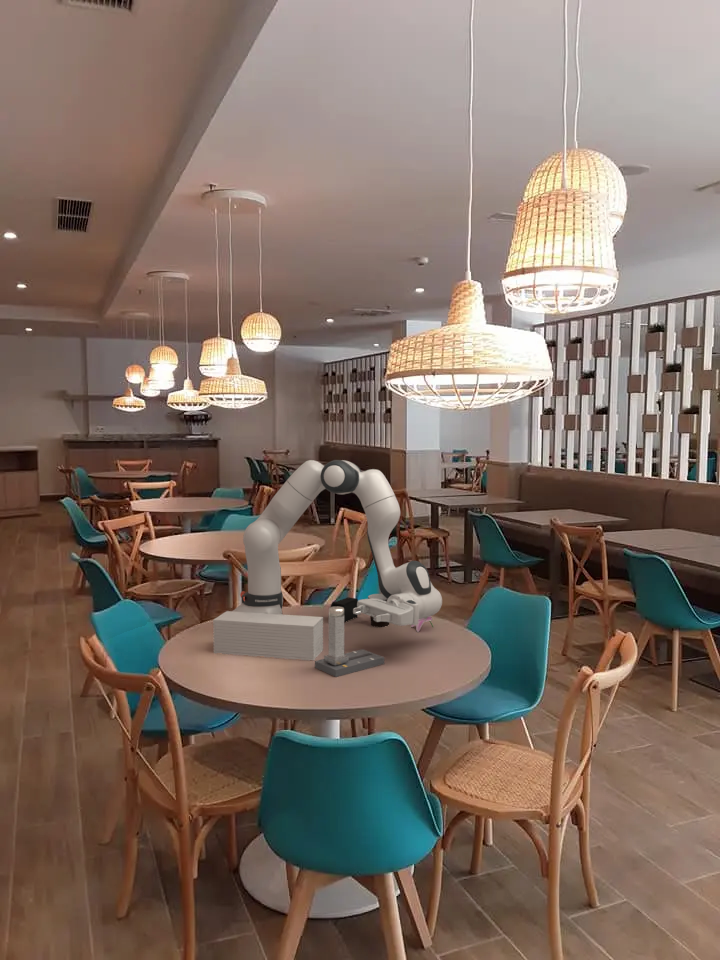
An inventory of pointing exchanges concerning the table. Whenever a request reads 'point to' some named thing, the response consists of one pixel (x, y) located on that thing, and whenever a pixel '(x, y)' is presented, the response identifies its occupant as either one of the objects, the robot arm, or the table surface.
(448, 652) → the table surface
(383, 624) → the coffee mug
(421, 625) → the lily
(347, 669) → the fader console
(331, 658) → the lever
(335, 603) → the digital camera
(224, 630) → the stack of papers
